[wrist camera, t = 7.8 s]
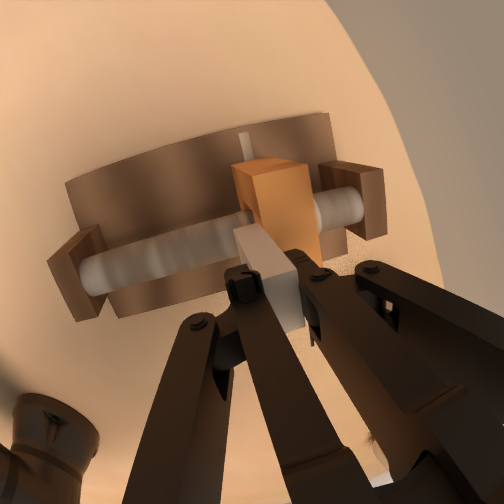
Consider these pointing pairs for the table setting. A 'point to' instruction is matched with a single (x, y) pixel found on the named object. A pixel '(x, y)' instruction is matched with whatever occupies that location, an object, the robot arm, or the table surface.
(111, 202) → the pipe stand
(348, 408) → the table surface
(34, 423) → the robot arm
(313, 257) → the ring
